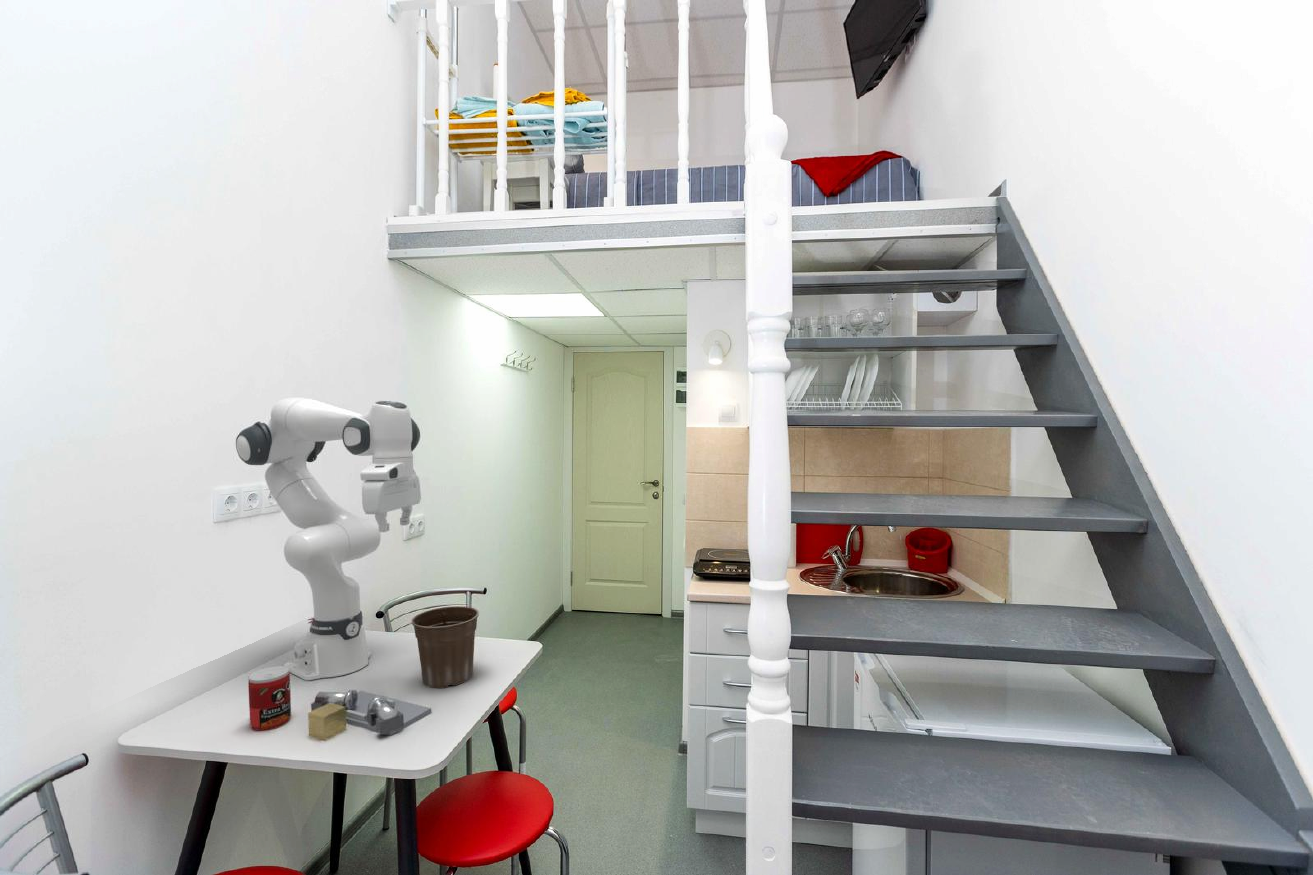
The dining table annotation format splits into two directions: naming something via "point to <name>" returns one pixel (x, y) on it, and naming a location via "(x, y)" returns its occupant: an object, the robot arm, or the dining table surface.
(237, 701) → the dining table surface
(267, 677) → the canned food
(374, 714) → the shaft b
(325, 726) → the golden yellow cube
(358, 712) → the grey base plate
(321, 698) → the shaft
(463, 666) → the plant pot
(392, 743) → the dining table surface
